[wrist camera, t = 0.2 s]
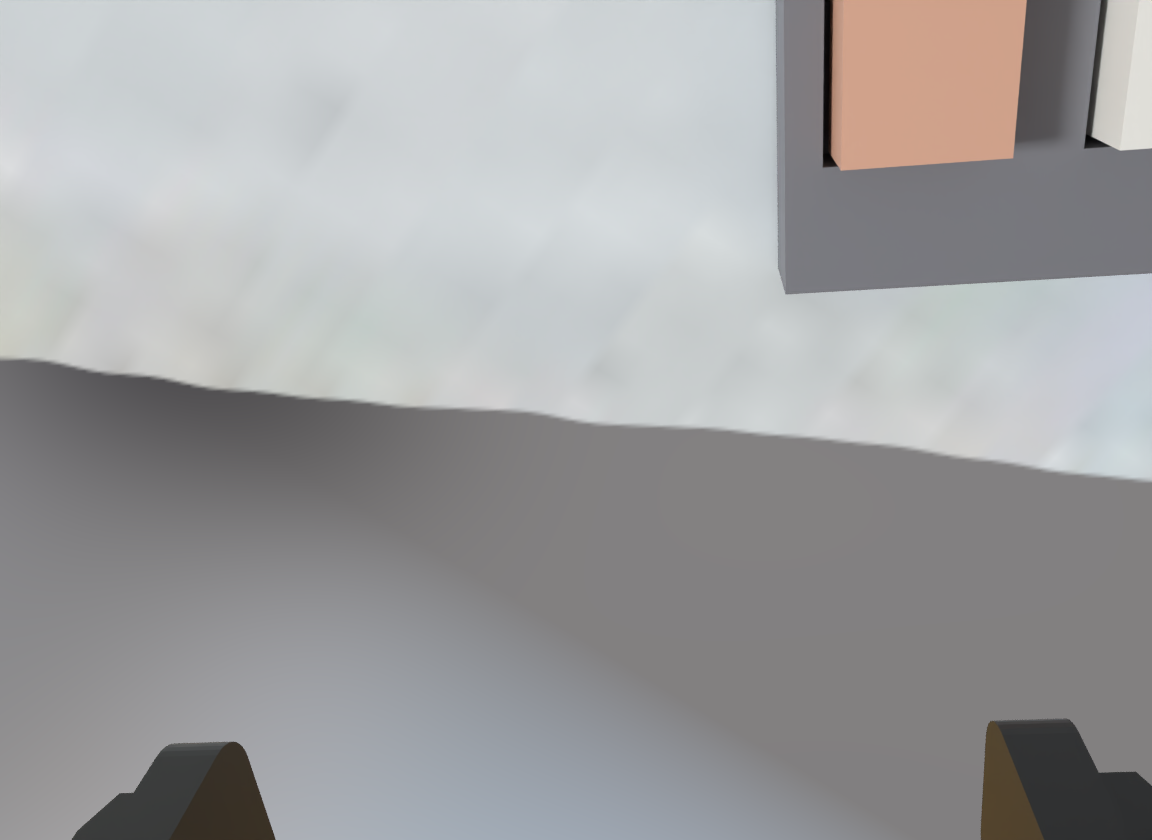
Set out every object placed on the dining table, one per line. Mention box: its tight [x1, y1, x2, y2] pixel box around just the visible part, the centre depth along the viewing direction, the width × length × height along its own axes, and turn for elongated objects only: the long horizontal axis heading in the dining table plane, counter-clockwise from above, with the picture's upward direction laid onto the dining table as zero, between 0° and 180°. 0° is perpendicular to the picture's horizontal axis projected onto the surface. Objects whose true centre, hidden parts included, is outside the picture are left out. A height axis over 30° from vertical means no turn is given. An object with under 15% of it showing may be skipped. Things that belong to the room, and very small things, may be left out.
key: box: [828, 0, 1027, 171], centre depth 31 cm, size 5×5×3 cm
